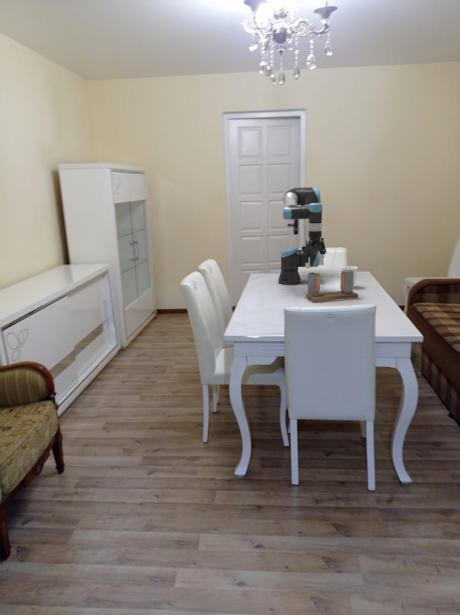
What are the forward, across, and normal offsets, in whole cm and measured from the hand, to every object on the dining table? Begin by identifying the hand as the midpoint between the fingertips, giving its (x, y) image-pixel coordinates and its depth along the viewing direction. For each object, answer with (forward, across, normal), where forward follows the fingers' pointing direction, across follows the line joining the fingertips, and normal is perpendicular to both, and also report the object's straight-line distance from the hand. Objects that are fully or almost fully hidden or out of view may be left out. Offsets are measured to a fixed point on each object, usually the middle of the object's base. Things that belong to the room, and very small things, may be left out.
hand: (314, 266), depth 257 cm
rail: (+17, 0, +13) cm, 22 cm away
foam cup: (+17, -29, +6) cm, 34 cm away
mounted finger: (+15, -7, +18) cm, 24 cm away
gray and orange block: (+17, 0, 0) cm, 17 cm away
